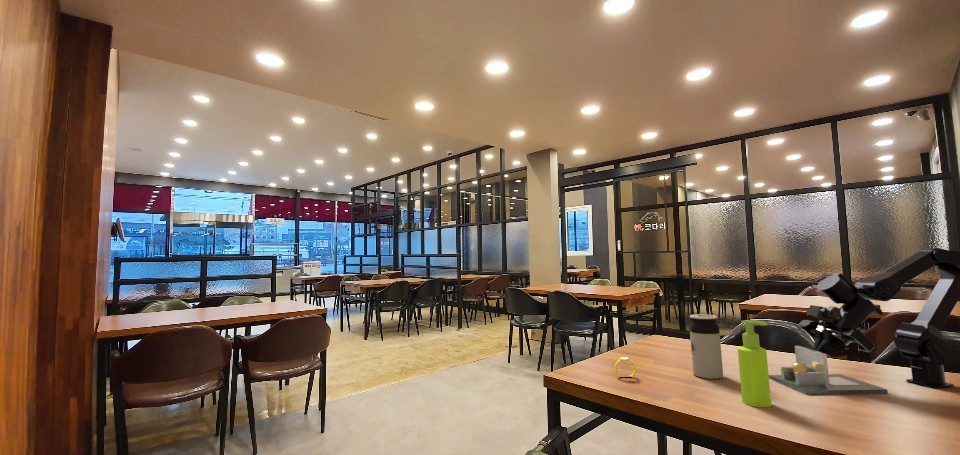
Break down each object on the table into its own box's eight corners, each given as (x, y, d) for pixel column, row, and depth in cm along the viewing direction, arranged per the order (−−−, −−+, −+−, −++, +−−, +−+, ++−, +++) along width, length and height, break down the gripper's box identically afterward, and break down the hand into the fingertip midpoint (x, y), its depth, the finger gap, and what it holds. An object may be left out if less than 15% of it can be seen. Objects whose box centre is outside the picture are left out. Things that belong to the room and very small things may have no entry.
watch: (617, 379, 120) (614, 359, 121) (615, 377, 123) (612, 357, 123) (637, 378, 119) (634, 358, 120) (635, 376, 122) (632, 356, 122)
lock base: (841, 377, 114) (838, 356, 115) (888, 393, 100) (885, 369, 101) (769, 378, 115) (767, 357, 116) (805, 394, 102) (803, 370, 102)
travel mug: (723, 374, 121) (718, 314, 123) (723, 381, 115) (717, 318, 116) (694, 371, 126) (689, 313, 127) (692, 377, 119) (687, 316, 120)
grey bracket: (801, 375, 113) (798, 345, 114) (829, 386, 103) (826, 353, 104) (777, 376, 113) (774, 346, 114) (803, 386, 104) (800, 354, 104)
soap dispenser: (767, 410, 92) (759, 323, 94) (737, 401, 98) (730, 320, 100) (781, 405, 95) (773, 321, 96) (750, 397, 101) (743, 317, 103)
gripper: (801, 292, 119) (767, 330, 119) (856, 298, 101) (816, 343, 100) (832, 318, 118) (797, 356, 118) (893, 329, 99) (852, 374, 99)
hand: (813, 356), depth 109 cm, fingers closed, pressing on grey bracket
